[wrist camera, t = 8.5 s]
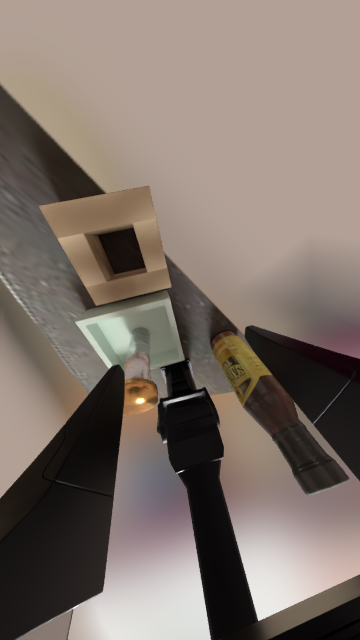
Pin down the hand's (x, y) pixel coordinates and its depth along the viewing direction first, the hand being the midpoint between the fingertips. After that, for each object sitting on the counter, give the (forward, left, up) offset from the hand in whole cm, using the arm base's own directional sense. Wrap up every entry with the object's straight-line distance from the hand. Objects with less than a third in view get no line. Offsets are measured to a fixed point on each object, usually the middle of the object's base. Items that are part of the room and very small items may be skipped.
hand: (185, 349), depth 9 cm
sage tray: (-6, +6, -13) cm, 16 cm away
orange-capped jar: (-6, +6, -12) cm, 15 cm away
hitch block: (+6, +4, -13) cm, 15 cm away
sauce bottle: (-14, -9, -13) cm, 21 cm away
